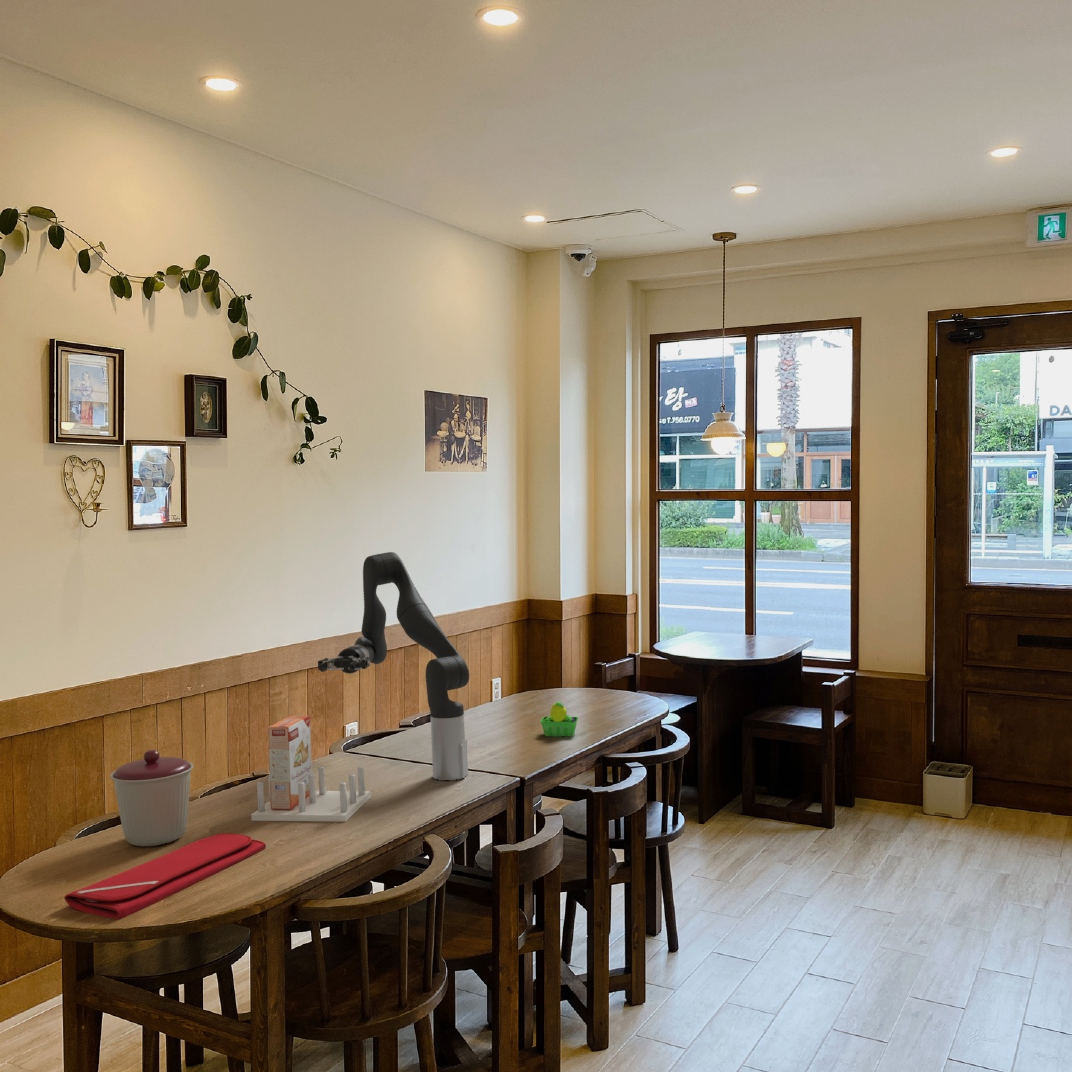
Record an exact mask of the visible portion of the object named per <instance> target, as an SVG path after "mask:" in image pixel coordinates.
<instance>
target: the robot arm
mask: <svg viewBox="0 0 1072 1072" xmlns="http://www.w3.org/2000/svg"><path fill="white" fill-rule="evenodd" d="M363 561H364V562H363V567H362V587H363V589H362V590H363V591H362V592H363V616H362V624H361V635H362V636H360V637H358V638H357V639H356V640H355V642H354V644H353V645H350V646H349V647H347V648H344V649H342V650H341V651H339V653H338V655H337V656H336V657H330V658H327V657H325V658H323V659H320V660H318V661H317V670H318V671H320V672H321V673H322V672H326V671H329V670H330V671H338V670H340V671H342V672H343V673H344V674H349V675H350V674H355V673H357V672H358V671H360V670H366V669H368V667H370V665H371V664H374V665H380V664H382V663H384V661H385V660H386V657H387V653H388V645H387V641H386V635H385V634H386V633H385V628H386V623H387V622H386V621H387V612H386V608H385V607H384V605H383V603H382V602H381V600H380V599H379V596H378V594H377V589H378V586H381V585H382V586H383V585H387V584H391V583H393V584H394V585H395V586H396V588H397V590H398V600H397V606H396V618H397V620H398V622H399V624H400V626H401V628H402V629H403V630H404V632H405V634H406V635H407V637H408V638H410V639H411V640H412V641H414V643H416V644H418V645H420V646H421V647H422V648H424V649H426V650H428V651H429V652H430V653H431V654H432V655H434V656H435V658H432V659H431V660H429V661H428V662H427V664H426V666H425V684H426V685H425V686H426V696H427V704H428V707H429V712H430V734H431V735H430V736H431V737H430V738H431V758H432V759H431V760H432V761H431V762H432V777H433V779H435V780H437V779H438V781H443V780H444V781H445V780H449V781H457V780H462V779H461V778H464V779H465V778H466V777H467V776H468V774H469V764H468V763H469V762H468V740H467V739H466V735H465V709H464V705H463V703H462V702H460V701H457V700H456V701H455V700H451V699H450V698H449V692H448V691H453V690H457V689H461V688H464V687H465V686H467V685H468V683H469V681H470V671H469V666H468V665H467V663H466V661H465V660H464V658H463V656H462V655H461V654H460V653H459V651H458V650H457V648H455V646H454V645H453V644H452V643H451V641H450V640H449V639H448V637H447V635H446V634H445V633H444V631H443V630H442V628H441V627H440V625H439V624H438V621H436V619H435V616H434V615H433V613H432V612H431V610H430V609H429V606H428V605H427V604H426V602H425V600H424V599H423V598H422V597H421V595H420V593H419V591H418V590H417V588H416V586H415V585H414V582H413V581H412V579H411V577H410V574H409V573H408V570H407V568H406V566H405V564H404V562H403V560H402V559H401V557H400V556H399V555H398V554H397V553H396V552H394V551H393V552H392V551H388V552H383V553H377V554H372V555H369V556H367V557H366V558H365V559H364V560H363ZM465 776H466V777H465ZM456 779H457V780H456Z"/></svg>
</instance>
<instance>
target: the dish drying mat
mask: <svg viewBox="0 0 1072 1072" xmlns="http://www.w3.org/2000/svg"><path fill="white" fill-rule="evenodd" d="M266 847H267V844H266V843H265V842H263V841H261V840H258V839H253V838H252V836H249V835H245V834H240V833H224V832H223V833H217V834H214V835H211V836H207V837H204V838H201V839H198V840H195V841H194V842H193V841H192V842H191V843H189V844H186V845H184V846H182V847H180V848H177V849H175V850H172V851H171V852H168V853H165V854H164V855H161V856H159V857H156V858H154V859H151V860H149V861H146V862H143V863H141V864H138V865H137V866H134V867H132V868H129V869H127V870H125V871H122V872H119V873H117V874H115V875H112V876H110V877H108V878H105V879H103V880H100V881H98V882H94V883H92V884H89V885H87V886H85V887H82V888H79V889H77V890H74V891H72V892H70V893H67V894H66V895H65V896H64V900H65V902H66V903H67V904H68V906H70V907H71V908H72V909H74V910H75V911H78V910H79V911H78V912H81V911H83V912H82V913H85V912H87V913H86V914H91V915H96V916H101V917H105V918H109V919H114V920H121V919H122V918H125V917H128V916H129V915H131V914H134V913H136V912H138V911H140V910H143V909H144V908H147V907H149V906H151V905H154V904H155V903H157V902H160V901H161V900H163V899H166V898H168V897H170V896H172V895H174V894H176V893H178V892H180V891H182V890H184V889H187V888H188V887H190V886H192V885H195V884H197V883H199V882H200V881H203V880H205V879H208V878H209V877H211V876H213V875H216V874H217V873H219V872H221V871H223V870H225V869H227V868H229V867H232V866H233V865H235V864H237V863H239V862H241V861H243V860H245V859H247V858H250V857H251V856H253V855H256V854H257V853H259V852H261V851H263V850H265V849H266Z"/></svg>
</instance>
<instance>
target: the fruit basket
mask: <svg viewBox="0 0 1072 1072" xmlns="http://www.w3.org/2000/svg"><path fill="white" fill-rule="evenodd" d="M567 711H568V710H567V709H566V707H565V706H564V705H563V704H562V702H561V701H556V702H555V703H553V704H552V705H551V709H550V714H549V715H550V716H543V717H542V719H541V720H540V724H541V728H542V730H543V733H544V736H545V737H561V736H566V737H567V736H571V737H572V738H573V737H574V735H575V733H576V728H577V722H578V720H579V717H578V716H571V715H568V714H567Z"/></svg>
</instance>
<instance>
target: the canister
mask: <svg viewBox="0 0 1072 1072" xmlns="http://www.w3.org/2000/svg"><path fill="white" fill-rule="evenodd" d="M193 769H194V764H193V763H192V762H191V761H188V760H187V759H184V758H181V757H177V756H176V757H174V756H160V752H159V751H158V750H156V749H148V750H147V751H145V753H143V759H138V760H134V761H131V762H127V763H125V764H123V765H120V766H119V767H118V768H117V769H115V770H114V771H113V772H111V773H110V774H109V775H110V779H111V780H112V781H113V783H114V790H115V796H116V802H117V806H118V812H119V819H120V822H121V823H120V824H121V829H122V833H123V836H124V839H125V840H126V841H127V842H128V843H129V844H130V845H133V846H137V847H154V846H155V847H157V846H161V844H162V845H165V843H166V844H168V843H171V842H173V841H177V840H178V839H180V838H181V837H182V836H183V835H184V833H185V831H186V829H187V825H188V815H189V804H190V803H189V802H190V786H191V785H190V784H191V771H193Z"/></svg>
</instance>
